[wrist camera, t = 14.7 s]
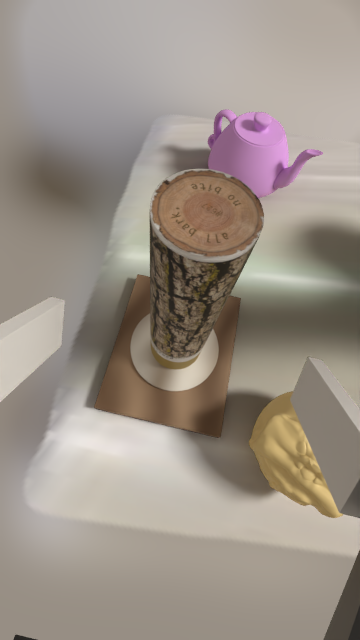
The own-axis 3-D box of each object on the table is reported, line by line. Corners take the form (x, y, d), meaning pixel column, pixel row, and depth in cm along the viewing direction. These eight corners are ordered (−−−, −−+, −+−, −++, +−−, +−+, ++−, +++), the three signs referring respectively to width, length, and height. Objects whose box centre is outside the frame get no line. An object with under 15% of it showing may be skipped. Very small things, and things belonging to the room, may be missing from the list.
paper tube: (180, 381, 38) (224, 279, 16) (139, 350, 39) (125, 213, 17) (209, 342, 41) (284, 205, 18) (170, 314, 42) (193, 152, 19)
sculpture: (224, 450, 37) (250, 450, 27) (276, 381, 42) (315, 359, 32) (299, 522, 35) (357, 549, 25) (346, 440, 39) (412, 436, 29)
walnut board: (238, 302, 46) (241, 296, 44) (217, 437, 38) (221, 437, 36) (138, 279, 46) (137, 272, 44) (96, 408, 38) (93, 406, 36)
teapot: (307, 193, 57) (344, 131, 46) (267, 234, 52) (298, 176, 41) (226, 141, 61) (243, 73, 50) (182, 174, 56) (189, 107, 45)
